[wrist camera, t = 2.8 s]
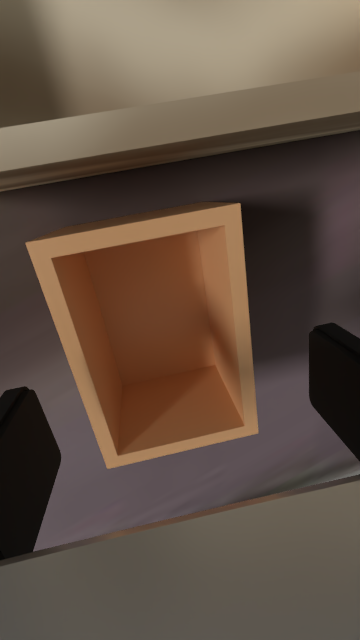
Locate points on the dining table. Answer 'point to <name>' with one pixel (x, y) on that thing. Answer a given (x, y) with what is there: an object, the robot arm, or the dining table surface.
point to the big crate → (168, 81)
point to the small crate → (155, 327)
